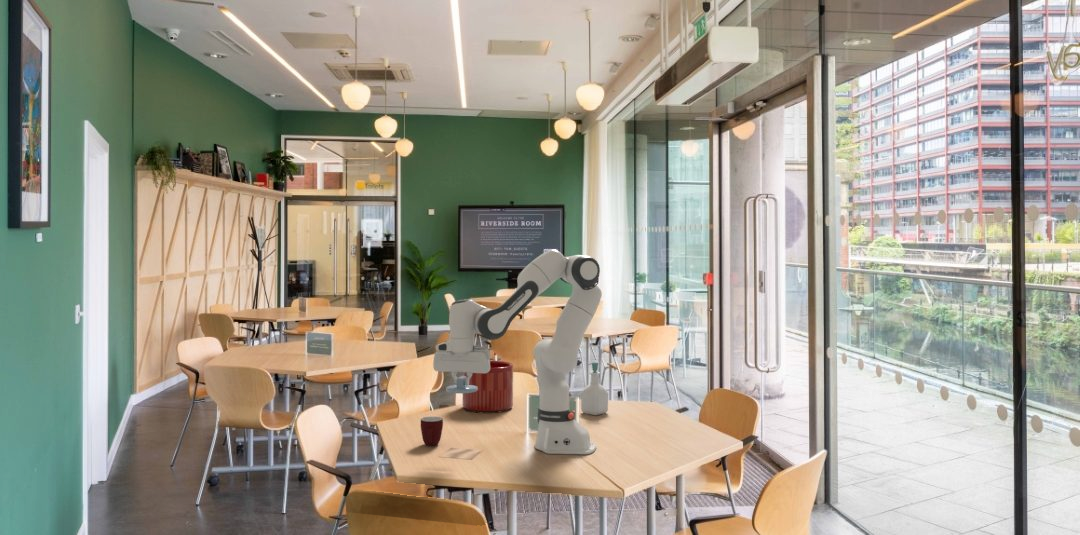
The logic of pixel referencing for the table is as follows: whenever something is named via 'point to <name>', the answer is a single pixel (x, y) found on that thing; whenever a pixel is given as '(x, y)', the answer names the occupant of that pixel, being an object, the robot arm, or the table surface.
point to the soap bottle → (594, 395)
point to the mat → (461, 453)
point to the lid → (461, 387)
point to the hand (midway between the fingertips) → (461, 384)
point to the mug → (431, 430)
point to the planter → (491, 389)
